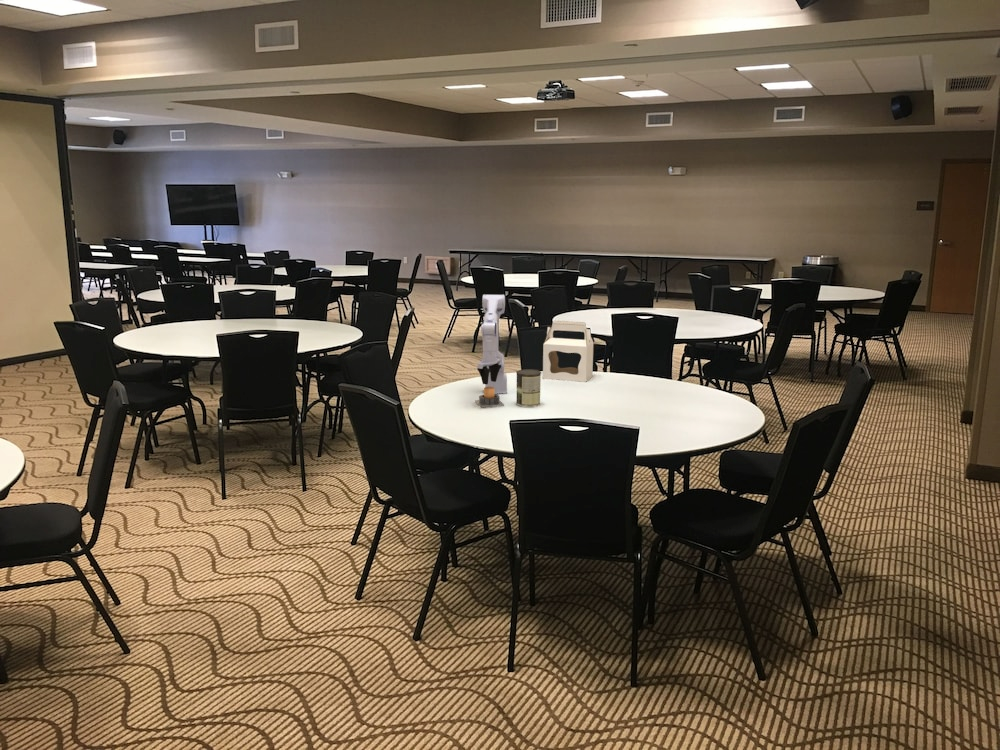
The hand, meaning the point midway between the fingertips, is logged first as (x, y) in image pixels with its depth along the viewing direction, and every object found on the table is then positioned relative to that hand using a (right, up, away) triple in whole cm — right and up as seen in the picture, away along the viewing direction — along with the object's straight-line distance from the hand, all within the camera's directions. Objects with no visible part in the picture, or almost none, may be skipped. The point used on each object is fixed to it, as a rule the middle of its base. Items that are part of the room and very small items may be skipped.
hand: (489, 382), depth 322 cm
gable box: (+38, +2, +56) cm, 68 cm away
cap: (0, -8, +2) cm, 8 cm away
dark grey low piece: (0, -9, +2) cm, 9 cm away
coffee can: (+16, -9, +3) cm, 19 cm away
